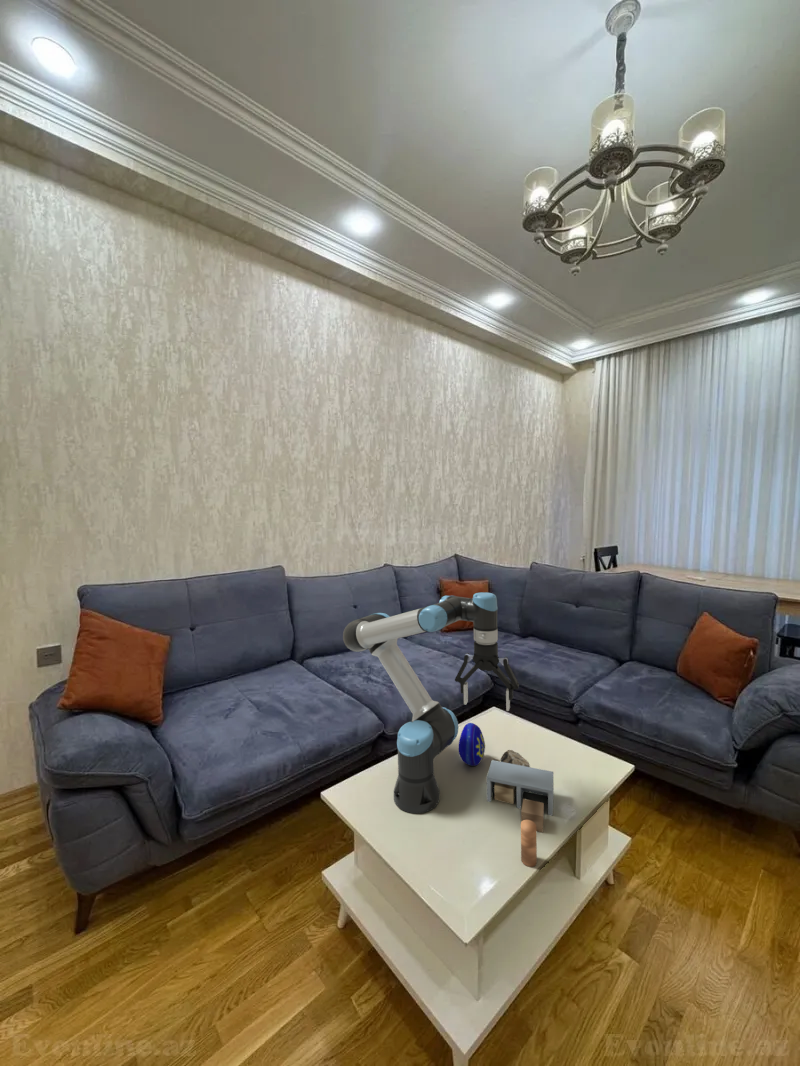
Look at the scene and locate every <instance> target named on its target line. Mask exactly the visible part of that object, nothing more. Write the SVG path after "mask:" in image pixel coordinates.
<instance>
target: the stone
mask: <svg viewBox="0 0 800 1066" xmlns="http://www.w3.org/2000/svg"><path fill="white" fill-rule="evenodd" d="M500 762H505V763H510V764H515V765H521V766H526V767H531V766H530V763H529V761H528V760H527V759H526V758H524V757H523V756H522V755H521V754H520V753H519V752H516V751H514V750H512V749H507V750H506V751H505V752H504V753H503V754H502V756H501V758H500Z"/></svg>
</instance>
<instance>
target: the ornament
mask: <svg viewBox="0 0 800 1066" xmlns="http://www.w3.org/2000/svg"><path fill="white" fill-rule="evenodd" d="M457 749H458V754H459V758H460V759H461V760H462V762H463V763H464V764H465V765H468V766H471V767H472V766H475V767H476V766H478V765H479V764H480V763H481V762H482V760H483V758H484V756H485V753H486V752H485V751H486V741H485V738H484V734H483V732H482V730H481V728H480V727H479V726H478V725H477V724H476V723H473V722H467V723H466V724H465V726H464V727H463V729H462V731H461V733H460V736H459V741H458V748H457Z"/></svg>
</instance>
